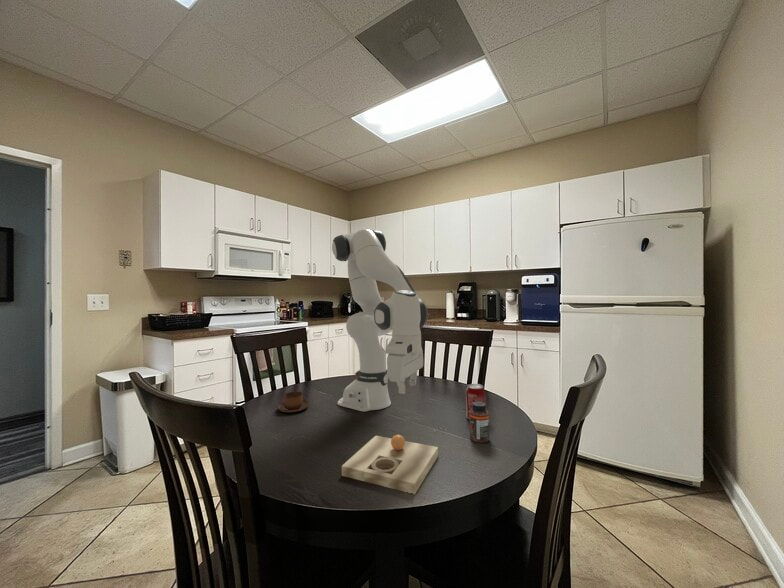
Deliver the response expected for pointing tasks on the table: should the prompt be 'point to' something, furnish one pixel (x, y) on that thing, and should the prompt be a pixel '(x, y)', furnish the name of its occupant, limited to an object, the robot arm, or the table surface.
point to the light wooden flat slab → (391, 464)
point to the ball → (398, 442)
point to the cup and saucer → (293, 402)
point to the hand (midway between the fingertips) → (407, 389)
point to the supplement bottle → (479, 422)
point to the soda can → (474, 396)
